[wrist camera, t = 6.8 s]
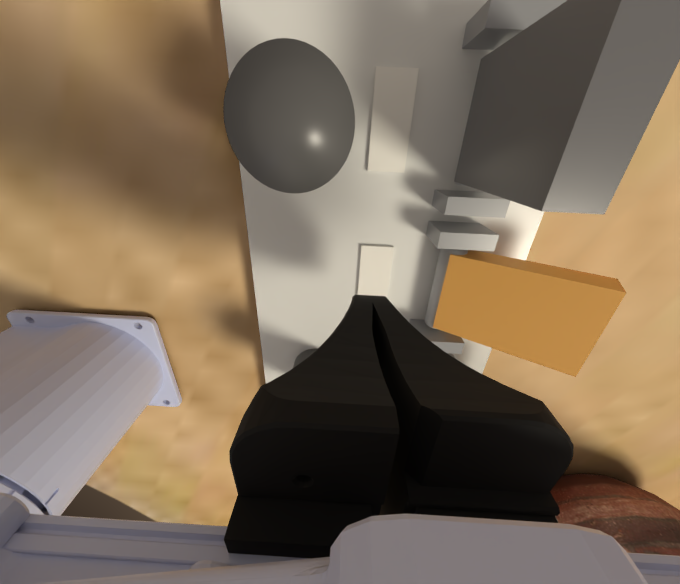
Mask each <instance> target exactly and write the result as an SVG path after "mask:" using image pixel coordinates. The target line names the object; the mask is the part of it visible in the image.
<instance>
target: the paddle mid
mask: <svg viewBox="0 0 680 584" xmlns="http://www.w3.org/2000/svg"><path fill="white" fill-rule="evenodd" d="M625 294H626V291H625V290H624V288H623V287H622V285H621V284H620V282H619V281H618V279H615V278H610V277H605V276H600V275H595V274H590V273H585V272H580V271H575V270H570V269H565V268H560V267H555V266H550V265H545V264H540V263H536V262H531V261H526V260H521V259H516V258H511V257H506V256H501V255H496V254H491V253H486V252H481V251H476V250H458V249H440V253H439V258H438V262H437V267H436V271H435V276H434V280H433V285H432V289H431V294H430V298H429V303H428V307H427V312H426V316H425V323H426V325H428V326H429V327H431V328H434V329H438V330H441V331H444V332H447V333H450V334H453V335H456V336H459V337H462V338H465V339H467V340H470V341H473V342H476V343H479V344H482V345H485V346H488V347H491V348H493V349H496V350H499V351H502V352H505V353H508V354H511V355H514V356H517V357H520V358H522V359H525V360H528V361H531V362H534V363H537V364H540V365H543V366H546V367H548V368H551V369H554V370H557V371H560V372H563V373H566V374H569V375H572V376H575V377H576V375H577V374H578V372H579V370H580V369H581V367H582V365H583V364H584V362H585V360H586V359H587V357H588V355H589V354H590V352H591V350H592V349H593V347H594V345H595V344H596V342H597V340H598V339H599V337H600V335H601V334H602V332H603V331H604V329H605V327H606V326H607V324H608V322H609V321H610V319H611V317H612V316H613V314H614V312H615V311H616V309H617V307H618V306H619V304H620V302H621V301H622V299H623V297H624V296H625Z"/></svg>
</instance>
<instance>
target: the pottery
mask: <svg viewBox="0 0 680 584" xmlns="http://www.w3.org/2000/svg"><path fill="white" fill-rule="evenodd" d="M550 492H551V494H552V496H553V498H554V499H555V501H556V503H557V505H558V506H559V509H560V514H559V515H558V516H556V518H557V520H558V522H559V523H563V524H572V525H577V526H582V527H586V528H591V529H595V530H600V531H602V532H604V533H606V534H608V535H610V536H612V537H613V538H614V539H615V540H616V541H617V542H618V543H619V544H620V545H621V546H622V547H623V548H624V549H625V550H626V552H628V553H643V554H659V555H674V556H680V510H678V509H677V508H675V507H673V506H672V505H670V504H669V503H667V502H666V501H664V500H662V499H661V498H659V497H658V496H656V495H654V494H652V493H650V492H647V491H645V490H642V489H640V488H638V487H635V486H633V485H630V484H628V483H625V482H623V481H620V480H617V479H614V478H611V477H608V476H605V475H595V474H572V475H562V476H561V478H560V479H559V480H558V482H557V483H556V484H555V486H554V487H553V488H552V490H551V491H550Z"/></svg>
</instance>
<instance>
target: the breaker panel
mask: <svg viewBox="0 0 680 584" xmlns="http://www.w3.org/2000/svg"><path fill="white" fill-rule="evenodd" d="M566 1H567V0H220V5H221V13H222V22H223V30H224V38H225V47H226V55H227V64H228V72H229V80H228V83H227V87H226V90H225V97H224V111H223V112H224V123H225V128H226V133H227V136H228V139H229V142H230V144H231V147H232V149H233V151H234V153H235V155H236V157H237V158H238V160H239V164H240V172H241V181H242V189H243V197H244V206H245V214H246V222H247V231H248V239H249V248H250V256H251V264H252V273H253V281H254V289H255V298H256V306H257V315H258V323H259V331H260V340H261V348H262V356H263V365H264V373H265V381H266V383H268V382H270V381H272V380H274V379H276V378H277V377H279V376H281V375H283V374H285V373H286V372H288V371H290V370H291V369H293V368H294V367H295V366H297V365H298V364H300V363H301V362H302V361H304V360H305V359H306V358H308V357H309V356H310V355H311V354H312V353H313V352H315V351H316V350H317V349H318V348H319V347H320V346H321V345H322V344H323V343H324V342H325V341H326V340H327V339H328V338H329V336H330V335H331V334H332V333H333V332H334V330H335V329H336V328H337V326H338V325H339V323H340V322H341V321H342V319H343V317H344V316H345V314H346V312H347V310H348V308H349V306H350V304H351V301H352V297H353V296H354V295H372V296H386V297H387V299H388V300H389V301H390V302H391V303H392V304H393V306H394V307H395V308H396V309H397V310H398V311H399V312H400V313H401V314H402V316H403V317H404V318H405V319H406V320H407V321H408V322H409V323H410V324H411V325H412V326H413V327H415V328H416V329H417V330H418V331H419V332H420V333H421V334H422V335H423V336H425V337H426V338H427V339H428V340H430V341H431V342H432V343H434V344H435V345H436V346H438V347H439V348H440V349H442V350H443V351H444V352H446V353H447V354H449V355H450V356H452V357H454V358H455V359H457V360H458V361H460V362H462V363H463V364H465V365H467V366H468V367H470V368H472V369H474V370H475V371H477V372H479V373H481V374H482V373H483V370H484V368H485V365H486V362H487V360H488V357H489V355H490V352H491V349H492V348H491V347H488V346H485V345H482V344H479V343H476V342H473V341H470V340H467V339H465V338H462V337H459V336H456V335H453V334H450V333H447V332H444V331H441V330H438V329H434V328H431V327H429V326H428V325H426V323H425V316H426V312H427V307H428V303H429V298H430V294H431V289H432V285H433V280H434V276H435V271H436V267H437V262H438V258H439V253H440V249H458V250H476V251H481V252H486V253H491V254H496V255H501V256H506V257H511V258H516V259H521V260H526V258H527V256H528V253H529V250H530V248H531V245H532V242H533V240H534V237H535V235H536V232H537V229H538V227H539V224H540V222H541V219H542V216H543V214H544V211H539V210H536V209H533V208H530V207H528V206H525V205H522V204H519V203H516V202H513V201H510V200H507V199H504V198H501V197H498V196H495V195H492V194H489V193H487V192H484V191H481V190H478V189H475V188H472V187H469V186H464V185H457V184H455V182H454V179H455V174H456V170H457V165H458V161H459V156H460V152H461V147H462V142H463V138H464V133H465V129H466V124H467V120H468V115H469V111H470V106H471V102H472V97H473V93H474V88H475V83H476V79H477V74H478V70H479V65H480V61H481V59H482V58H483V56H484V55H486V54H489V53H490V52H492V51H493V50H495V49H496V48H498V47H499V46H501V45H502V44H504V43H505V42H507V41H508V40H510V39H511V38H513V37H514V36H516V35H517V34H518V33H520V32H521V31H523V30H524V29H526V28H527V27H529V26H530V25H532V24H533V23H535V22H536V21H538V20H539V19H541V18H542V17H544V16H545V15H547V14H548V13H549V12H551V11H552V10H554V9H555V8H557V7H558V6H560V5H561V4H563V3H564V2H566Z"/></svg>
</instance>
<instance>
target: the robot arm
mask: <svg viewBox="0 0 680 584" xmlns="http://www.w3.org/2000/svg"><path fill="white" fill-rule="evenodd" d="M7 319H8V320H9V322H10V323H11V325H12V327H10V328H8V329H6V330H4V331H2V332H0V584H680V556H674V555H659V554H643V553H628V552H626V550H625V549H624V548H623V547H622V546H621V545H620V544H619V543H618V542H617V541H616V540H615V539H614V538H613V537H612V536H610V535H608V534H606V533H604V532H602V531H600V530H595V529H591V528H586V527H582V526H577V525H572V524H563V523H558V521H557V519H556V517H555V516H558V515H559V514H560V509H559V506H558V505H557V503H556V501H555V499H554V498H553V496H552V494H551V492H550V491H551V490H552V488H553V487H554V486H555V484H556V483H557V482H558V480H559V479H560V478H561V476H562V475H563V473H564V472H565V471H566V469H567V468H568V466H569V464H570V462H571V460H572V457H573V444H572V442H571V440H570V438H569V436H568V435H567V433H566V432H565V431H564V429H563V428H562V427H561V425H560V424H559V423H558V421H557V420H556V419H555V417H554V416H553V415H552V413H551V412H550V411H549V409H548V408H547V407H546V406H545V404H544V403H543V402H542V401H540V400H538V399H535V398H533V397H531V396H528V395H526V394H524V393H521V392H519V391H517V390H514V389H512V388H510V387H507V386H505V385H503V384H501V383H499V382H497V381H495V380H493V379H491V378H489V377H487V376H485V375H483V374H481V373H479V372H477V371H475V370H474V369H472V368H470V367H468V366H467V365H465V364H463V363H462V362H460V361H458V360H457V359H455V358H454V357H452V356H450V355H449V354H447V353H446V352H444V351H443V350H442V349H440V348H439V347H438V346H436V345H435V344H434V343H432V342H431V341H430V340H428V339H427V338H426V337H425V336H423V335H422V334H421V333H420V332H419V331H418V330H417V329H416V328H415V327H413V326H412V325H411V324H410V323H409V322H408V321H407V320H406V319H405V318H404V317H403V316H402V314H401V313H400V312H399V311H398V310H397V309H396V308H395V307H394V306H393V304H392V303H391V302H390V301H389V300H388V299H387V297H386V296H372V295H354V296H353V297H352V301H351V304H350V306H349V308H348V310H347V312H346V314H345V316H344V317H343V319H342V321H341V322H340V323H339V325H338V326H337V328H336V329H335V330H334V332H333V333H332V334H331V335H330V336H329V338H328V339H327V340H326V341H325V342H324V343H323V344H322V345H321V346H320V347H319V348H318V349H317V350H316V351H315V352H313V353H312V354H311V355H310V356H309V357H308V358H306V359H305V360H304V361H302V362H301V363H300V364H298V365H297V366H295V367H294V368H293V369H291V370H290V371H288V372H286V373H285V374H283V375H281V376H279V377H277V378H276V379H274V380H272V381H270V382H268V383H266V384H264V385H262V386H261V387H260V389H259V390H258V392H257V393H256V395H255V397H254V398H253V400H252V402H251V403H250V405H249V407H248V409H247V411H246V412H245V414H244V416H243V418H242V420H241V423H240V425H239V428H238V430H237V433H236V436H235V438H234V441H233V443H232V446H231V448H230V464H231V468H232V472H233V476H234V480H235V484H236V488H237V492H238V496H237V499H236V502H235V506H234V509H233V512H232V515H231V518H230V521H229V524H228V527H227V526H211V525H196V524H180V523H165V522H147V521H133V520H118V519H103V518H88V517H71V516H60V515H61V514H62V513H63V511H64V510H65V509H66V508H67V506H68V505H69V504H70V502H71V501H72V500H73V499H74V497H75V496H76V495H77V494H78V492H79V491H80V490H81V489H82V487H83V486H84V485H85V484H86V482H87V481H88V480H89V479H90V477H91V476H92V475H93V473H94V472H95V471H96V470H97V468H98V467H99V466H100V465H101V463H102V462H103V461H104V460H105V458H106V457H107V456H108V454H109V453H110V452H111V451H112V449H113V448H114V447H115V446H116V444H117V443H118V442H119V441H120V439H121V438H122V437H123V435H124V434H125V433H126V432H127V430H128V429H129V428H130V427H131V425H132V424H133V423H134V422H135V420H136V419H137V418H138V416H139V415H140V414H141V413H142V411H143V410H144V409H145V408H146V406H147V405H153V406H170V407H177V406H179V405H180V403H181V402H182V398H181V395H180V392H179V389H178V386H177V383H176V380H175V377H174V374H173V371H172V368H171V365H170V361H169V358H168V355H167V352H166V349H165V346H164V343H163V340H162V337H161V334H160V331H159V328H158V325H157V323H156V321H155V320H154V319H152V318H150V317H141V316H123V315H105V314H87V313H69V312H51V311H33V310H13V311H10V312H8V313H7ZM139 323H140V324H141V325H140V324H139Z"/></svg>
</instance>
